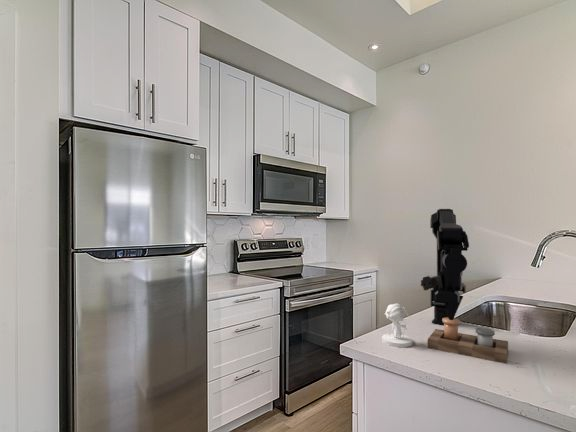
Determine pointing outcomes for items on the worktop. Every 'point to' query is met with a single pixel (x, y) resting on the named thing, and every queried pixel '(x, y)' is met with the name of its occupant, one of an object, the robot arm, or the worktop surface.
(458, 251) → the robot arm
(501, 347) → the socket board
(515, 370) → the worktop surface
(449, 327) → the plug terracotta
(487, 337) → the plug grey
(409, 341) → the figurine
